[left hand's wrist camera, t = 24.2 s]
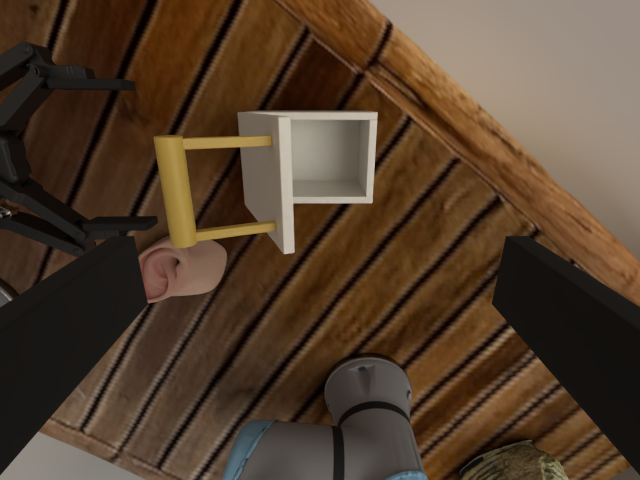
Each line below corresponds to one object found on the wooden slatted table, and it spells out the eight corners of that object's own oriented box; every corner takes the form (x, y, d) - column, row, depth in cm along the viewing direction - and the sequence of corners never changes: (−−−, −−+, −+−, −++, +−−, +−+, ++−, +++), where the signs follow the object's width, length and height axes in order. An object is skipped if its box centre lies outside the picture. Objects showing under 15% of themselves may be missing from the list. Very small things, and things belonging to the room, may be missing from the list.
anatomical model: (219, 243, 48) (220, 314, 52) (227, 233, 51) (227, 300, 55) (122, 235, 47) (131, 306, 51) (136, 225, 51) (143, 293, 55)
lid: (291, 116, 23) (148, 118, 20) (294, 252, 26) (174, 272, 23) (245, 112, 36) (155, 112, 33) (252, 204, 39) (171, 212, 36)
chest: (365, 110, 45) (377, 112, 36) (362, 184, 49) (372, 203, 40) (258, 110, 45) (242, 112, 36) (262, 184, 49) (249, 203, 40)
